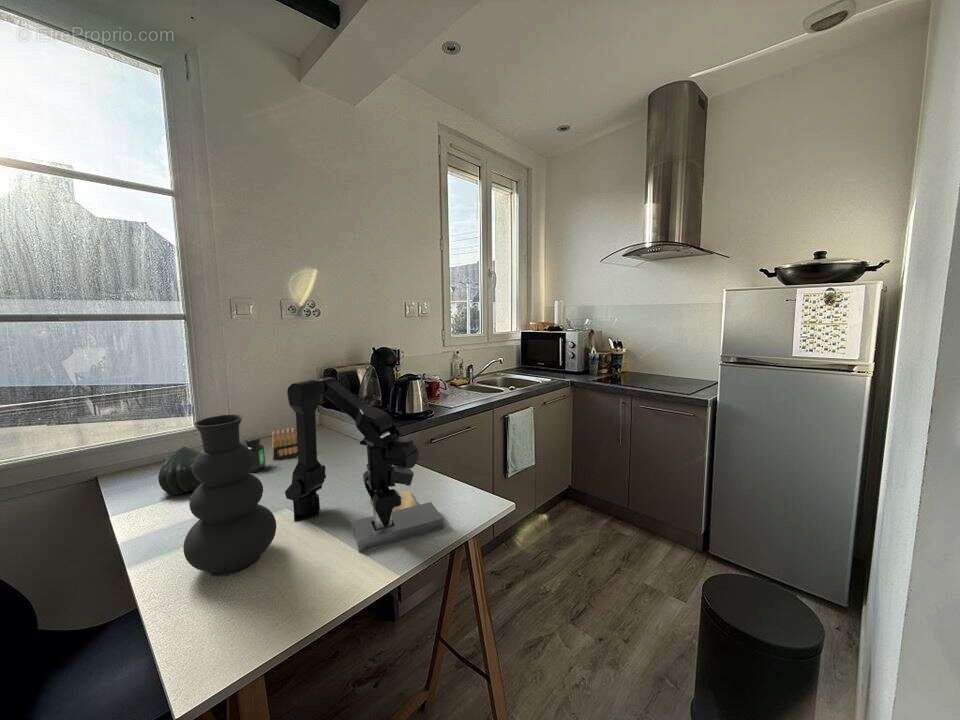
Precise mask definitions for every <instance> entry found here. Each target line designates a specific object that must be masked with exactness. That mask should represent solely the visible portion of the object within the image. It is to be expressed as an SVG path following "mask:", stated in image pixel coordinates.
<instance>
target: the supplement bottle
mask: <svg viewBox="0 0 960 720" xmlns="http://www.w3.org/2000/svg"><path fill="white" fill-rule="evenodd" d="M244 445H245V446H247V447H248V448H249V449H250V450H251V451H252V453H253V456H254V463H253V466H252V468H251V470H250V471H249V472H248V473H250V474H252V473H257V472H262V471H263V470H265V468H266V466H267V465H266V464H267V463H266V455H265V446H264V445H263V443H261V437H260V436H252V437H247V438H245V440H244Z"/></svg>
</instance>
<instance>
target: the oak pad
mask: <svg viewBox="0 0 960 720" xmlns="http://www.w3.org/2000/svg"><path fill="white" fill-rule="evenodd" d="M398 493H399V495H400V496H401V505H400V506H397V507H394V508H393V510H392V511H396V510H400V509H404V508H408V507H412V506H416V505H419V504H418V502H417V501H416V499H415V498H414V496H413V495H412V494H411V491H409V489H407V490H402V491H398ZM369 502H370V503H369V504H370V505H371V507H372V509H373V502H372V499H371V498H369Z"/></svg>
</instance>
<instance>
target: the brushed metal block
mask: <svg viewBox="0 0 960 720" xmlns="http://www.w3.org/2000/svg"><path fill="white" fill-rule="evenodd" d="M372 514H373V515H372V516H373V518H374V530H375V531H378V530H382V529H386V528H389V527H392V513H391V517H390V521H389V525H388V526H387V527H384V526H383V524H382V522H381V520H380V518H379V516H378V514H377V512H376V511H375V509H374V506H373V508H372Z"/></svg>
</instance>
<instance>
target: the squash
mask: <svg viewBox="0 0 960 720" xmlns="http://www.w3.org/2000/svg"><path fill="white" fill-rule="evenodd" d="M199 453H200V451H198V450H195V449H194V448H190V447H187V446H184V445H183V446H182V447H180V448H179V449H177V450H176V451H175V452H174V453H173V454H171V455H170V456H169V457H168V458H167V459H166V460H165V461H164V463H163V465H161V467H160V469H159V472H158V478H157V479H158V483H159V487H160V488H161V489H162V491H164V492H165V493H166V494H169V495H178V494H182V493H184V492H189V491H192V492H194V491H195V490H196V489H197V487H198V486H199V485H200V484H201V482H199V481H198V480H197V479H196V478H195V477H194V475H193V472H192V465H193V462H194V460H195V458H196V457H197V455H198V454H199Z"/></svg>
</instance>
